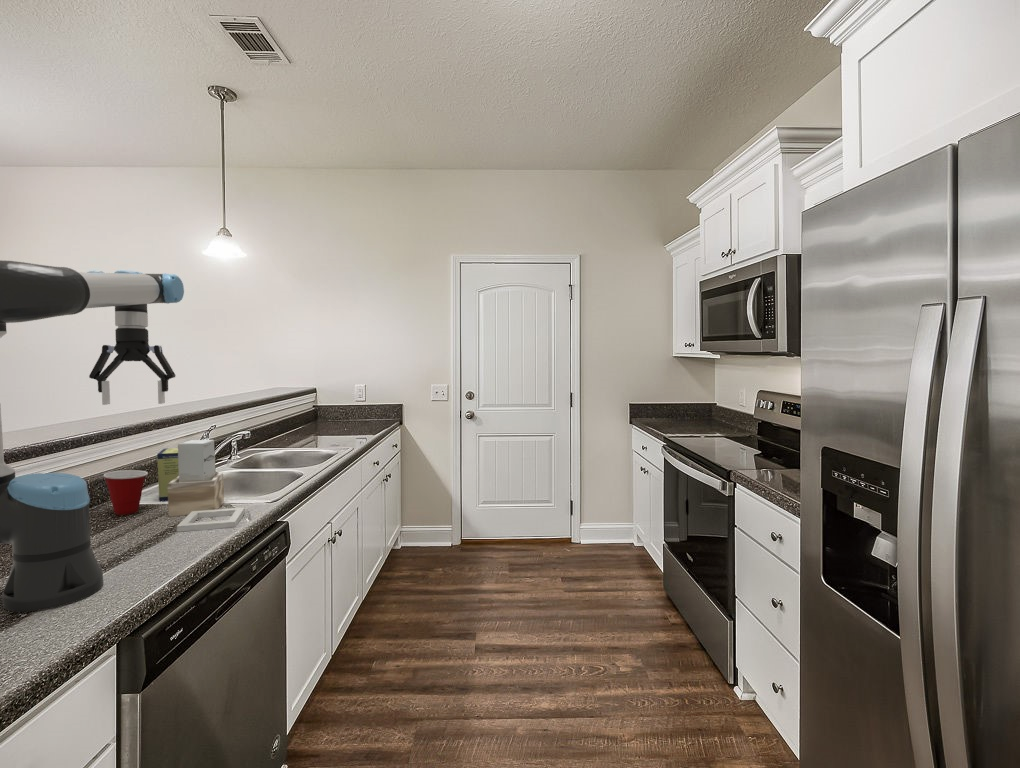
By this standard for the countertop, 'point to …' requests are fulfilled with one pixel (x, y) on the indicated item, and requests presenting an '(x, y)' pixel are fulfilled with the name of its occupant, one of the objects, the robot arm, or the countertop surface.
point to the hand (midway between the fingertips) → (134, 404)
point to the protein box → (167, 470)
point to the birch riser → (195, 495)
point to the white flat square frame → (191, 526)
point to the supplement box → (196, 460)
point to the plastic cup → (125, 490)
